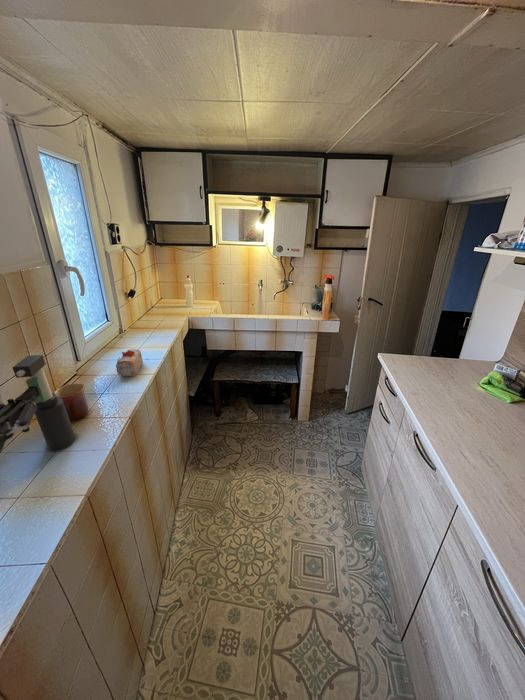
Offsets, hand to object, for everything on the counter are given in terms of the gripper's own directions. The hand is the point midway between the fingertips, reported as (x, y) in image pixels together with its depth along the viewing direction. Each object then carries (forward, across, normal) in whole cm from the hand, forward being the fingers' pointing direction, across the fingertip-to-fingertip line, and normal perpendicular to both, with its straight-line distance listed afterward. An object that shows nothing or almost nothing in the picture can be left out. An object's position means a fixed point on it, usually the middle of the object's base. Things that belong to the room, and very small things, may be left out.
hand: (34, 390), depth 75 cm
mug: (+19, -2, -20) cm, 28 cm away
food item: (+48, +11, -20) cm, 53 cm away
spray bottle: (+2, 0, -20) cm, 21 cm away
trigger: (+1, 0, -4) cm, 4 cm away
